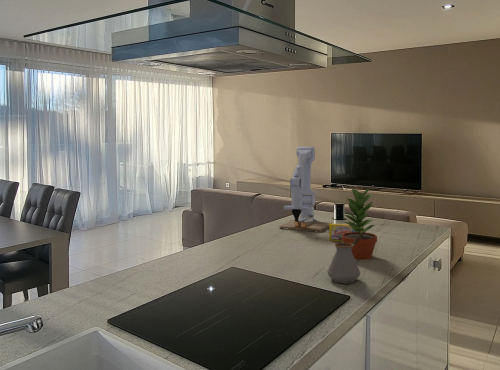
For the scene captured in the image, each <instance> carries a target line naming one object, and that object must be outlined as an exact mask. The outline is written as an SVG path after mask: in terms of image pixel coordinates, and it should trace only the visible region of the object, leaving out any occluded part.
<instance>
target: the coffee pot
mask: <svg viewBox="0 0 500 370" xmlns="http://www.w3.org/2000/svg"><path fill="white" fill-rule="evenodd" d="M364 233H365V232H364V231H363V232H362V233H361V234H360V235H359V236H358V237H357V238H356V240H355V241H354V242H353V244H350V243H344V242H337V243H335V244H334V247H335V248H336V249H335V253H334V256H333V258H332V260H331V262H330V264H329V267H328V268H327V274H328V277H330V279H332V280H333V282H336V283H338V284H351V283H355V281H356V280H357V279H358V278H360V275H361V270H360V268H359V266H358V264H357V261H356V259H355V258H354V256H353V254H352V251H351V249H352V248H353V246H354V245H355V244H356V243H357V242H358V241H359V240H360V238H361V237H362V236H364V235H363V234H364ZM367 233H368V232H366V234H367ZM366 236H367V235H366Z"/></svg>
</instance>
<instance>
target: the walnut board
mask: <svg viewBox="0 0 500 370" xmlns="http://www.w3.org/2000/svg"><path fill="white" fill-rule="evenodd" d="M329 224H333V222H326V221H324V222H323V221H316V220H314V221H313V223H312V224H310V225H308V226H306V227H301V225H300V226H295V219H291V220H289V221H287V222H285V223H283V224H281V225H279V226H278V227H280V228H288V229H287V230H289V229H297V230H296V231H300V230H308V231H307V232H311V231H317V232H316V233H322V231H323V232H324V231H326V230H327V229H329V228H328V227H329ZM325 229H326V230H325Z"/></svg>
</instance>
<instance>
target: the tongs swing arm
mask: <svg viewBox="0 0 500 370" xmlns="http://www.w3.org/2000/svg"><path fill="white" fill-rule="evenodd" d="M306 220H308V218H303V219H301V220H300V219H298V221H295V226H300V225H301V222H304V221H306Z"/></svg>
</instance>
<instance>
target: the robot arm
mask: <svg viewBox="0 0 500 370" xmlns="http://www.w3.org/2000/svg"><path fill="white" fill-rule="evenodd" d="M296 156H297V159H298V162H297V165H296V166H295V167H294V171H293V173H292V174H293V175H292V177H290V179H289V185H290V191H291V205H284V206H283V210H290V211H291V214H292V216H293V218H294V220H295V221H298V220H301V219H303V218H308V215H310V214H311V215H314V217H313V220H314V221H316V218H315V208H314V206H315V204H316V193H315V191H313V190H312V189H311V187H312V186H311V185H312V183H311V182H312V163H313V162H314V161H315V160H316V159H315V158H316V148H315V146H297V148H296Z"/></svg>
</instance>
